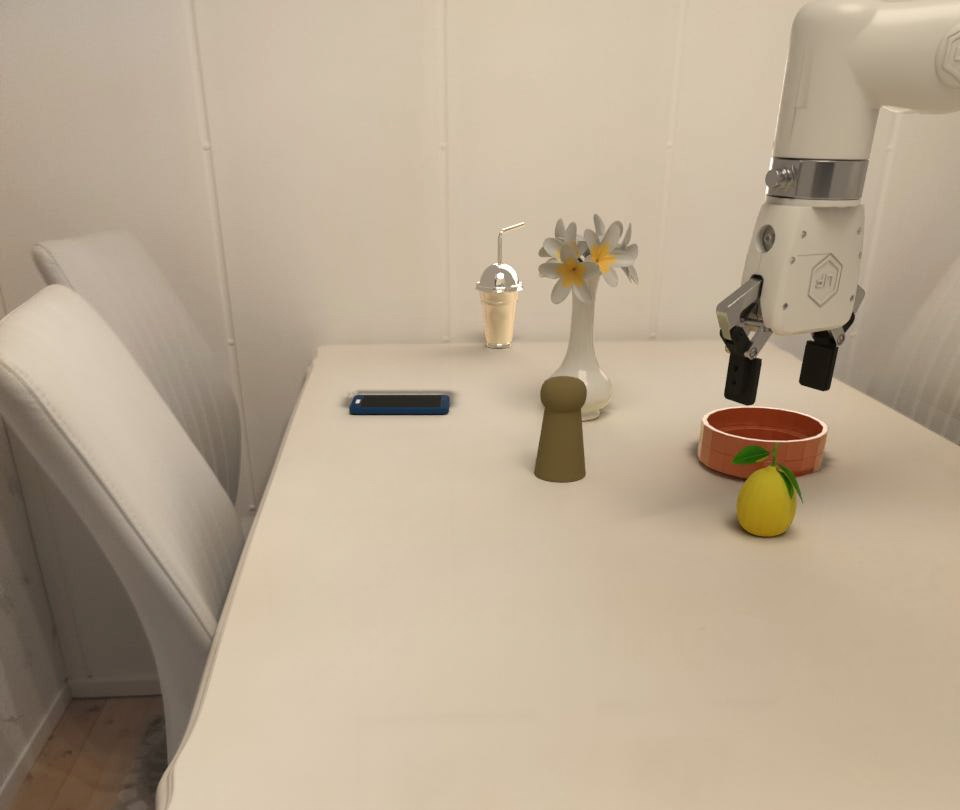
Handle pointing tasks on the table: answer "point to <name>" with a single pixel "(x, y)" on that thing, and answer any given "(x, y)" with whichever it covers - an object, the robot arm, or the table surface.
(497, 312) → the cup with straw
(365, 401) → the cell phone
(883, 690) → the table surface
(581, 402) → the olive game pawn
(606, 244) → the flower vase
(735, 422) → the bowl
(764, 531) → the lemon
